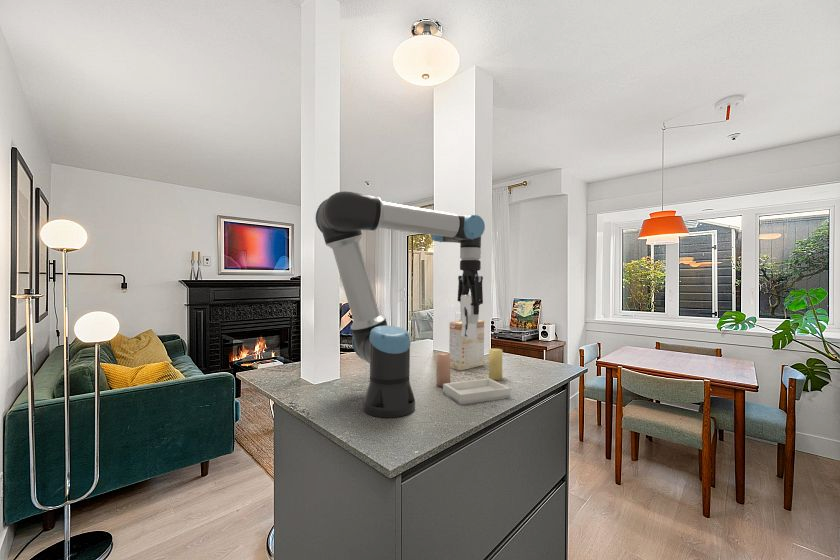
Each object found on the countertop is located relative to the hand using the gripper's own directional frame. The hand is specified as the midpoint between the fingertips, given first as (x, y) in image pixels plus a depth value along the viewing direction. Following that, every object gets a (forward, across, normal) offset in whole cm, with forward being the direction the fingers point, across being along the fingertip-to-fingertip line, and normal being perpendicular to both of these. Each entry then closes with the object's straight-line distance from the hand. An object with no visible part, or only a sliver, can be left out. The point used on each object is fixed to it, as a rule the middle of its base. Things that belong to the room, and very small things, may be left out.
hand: (469, 322), depth 137 cm
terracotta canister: (+22, -1, +11) cm, 24 cm away
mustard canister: (+22, -1, -11) cm, 25 cm away
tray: (+22, -15, +6) cm, 27 cm away
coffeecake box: (+22, +19, -10) cm, 31 cm away
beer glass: (+5, 0, 0) cm, 5 cm away
